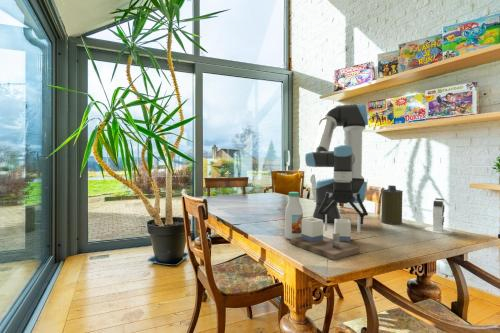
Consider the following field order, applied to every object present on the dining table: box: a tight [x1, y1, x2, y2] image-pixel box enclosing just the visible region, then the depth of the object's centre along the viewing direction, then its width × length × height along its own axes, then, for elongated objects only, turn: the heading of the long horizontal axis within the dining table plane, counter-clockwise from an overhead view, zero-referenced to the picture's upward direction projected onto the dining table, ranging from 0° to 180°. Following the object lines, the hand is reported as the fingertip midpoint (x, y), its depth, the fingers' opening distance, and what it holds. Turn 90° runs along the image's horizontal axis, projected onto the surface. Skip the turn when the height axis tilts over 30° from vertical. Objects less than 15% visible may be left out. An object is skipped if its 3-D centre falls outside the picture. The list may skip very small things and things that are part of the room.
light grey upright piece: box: [423, 197, 453, 235], centre depth 136 cm, size 12×11×15 cm
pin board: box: [290, 232, 361, 261], centre depth 110 cm, size 22×14×7 cm, turn 33°
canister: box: [380, 185, 404, 226], centre depth 153 cm, size 11×10×20 cm
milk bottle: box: [284, 191, 304, 240], centre depth 124 cm, size 8×8×20 cm
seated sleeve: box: [302, 217, 324, 242], centre depth 115 cm, size 6×6×8 cm
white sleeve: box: [333, 218, 352, 242], centre depth 122 cm, size 6×6×8 cm
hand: (342, 231), depth 122 cm, fingers open, 13 cm apart
